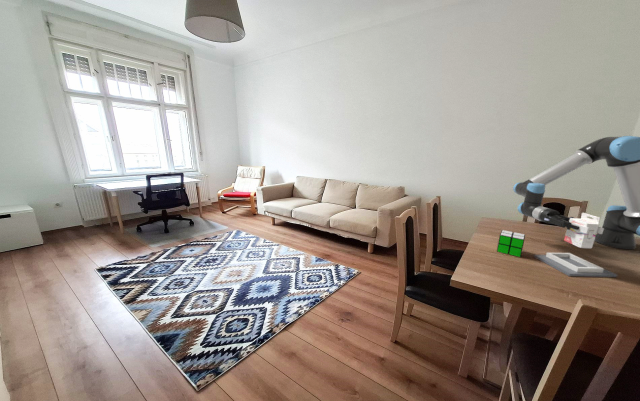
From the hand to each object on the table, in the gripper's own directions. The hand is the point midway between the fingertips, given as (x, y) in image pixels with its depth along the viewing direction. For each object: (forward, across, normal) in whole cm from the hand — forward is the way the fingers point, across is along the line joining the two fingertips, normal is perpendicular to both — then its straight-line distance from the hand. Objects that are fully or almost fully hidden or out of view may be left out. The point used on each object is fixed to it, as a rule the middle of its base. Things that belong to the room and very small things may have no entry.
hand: (595, 231), depth 99 cm
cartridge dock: (-5, 0, -20) cm, 21 cm away
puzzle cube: (-20, +18, -20) cm, 34 cm away
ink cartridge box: (-5, 0, -9) cm, 10 cm away
